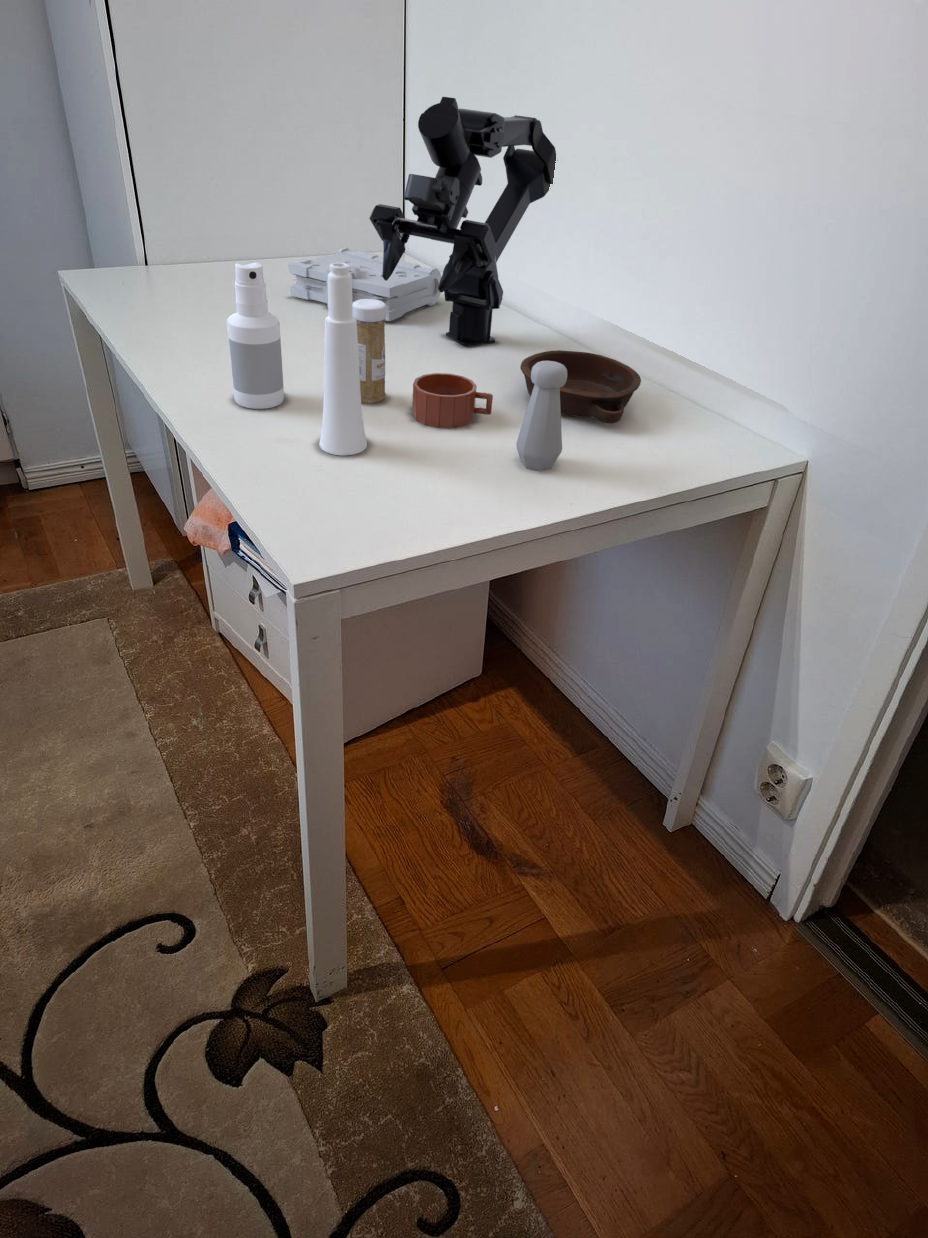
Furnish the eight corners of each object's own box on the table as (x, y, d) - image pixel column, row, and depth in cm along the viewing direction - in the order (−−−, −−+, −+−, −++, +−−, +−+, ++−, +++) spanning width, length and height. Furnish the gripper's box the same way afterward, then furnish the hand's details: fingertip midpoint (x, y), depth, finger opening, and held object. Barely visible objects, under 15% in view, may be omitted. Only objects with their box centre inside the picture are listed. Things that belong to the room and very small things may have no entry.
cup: (407, 424, 112) (408, 392, 110) (418, 400, 119) (419, 369, 117) (487, 433, 112) (490, 401, 109) (493, 408, 119) (496, 378, 116)
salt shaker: (511, 452, 107) (523, 354, 100) (554, 454, 108) (569, 356, 100) (517, 473, 103) (530, 371, 95) (562, 474, 103) (578, 373, 96)
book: (329, 274, 170) (328, 234, 165) (444, 302, 159) (447, 261, 155) (266, 293, 156) (263, 250, 152) (387, 325, 146) (388, 280, 141)
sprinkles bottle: (387, 403, 117) (388, 307, 109) (355, 404, 117) (353, 307, 108) (383, 391, 121) (383, 297, 113) (352, 392, 120) (350, 297, 112)
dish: (555, 438, 112) (560, 403, 109) (493, 379, 128) (496, 347, 125) (664, 427, 118) (672, 394, 115) (592, 372, 134) (597, 341, 131)
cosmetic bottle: (371, 454, 104) (371, 271, 91) (323, 457, 103) (316, 272, 89) (362, 434, 109) (361, 257, 96) (316, 437, 107) (308, 257, 94)
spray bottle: (241, 412, 112) (228, 273, 101) (228, 394, 116) (215, 259, 106) (290, 406, 114) (282, 270, 104) (276, 388, 119) (267, 256, 108)
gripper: (376, 140, 116) (334, 238, 114) (496, 158, 110) (453, 262, 108) (403, 195, 126) (364, 285, 125) (513, 214, 120) (474, 309, 119)
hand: (411, 284), depth 119 cm, fingers open, 9 cm apart
